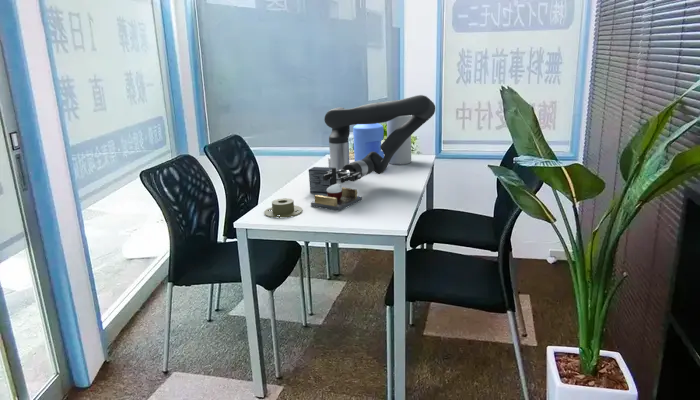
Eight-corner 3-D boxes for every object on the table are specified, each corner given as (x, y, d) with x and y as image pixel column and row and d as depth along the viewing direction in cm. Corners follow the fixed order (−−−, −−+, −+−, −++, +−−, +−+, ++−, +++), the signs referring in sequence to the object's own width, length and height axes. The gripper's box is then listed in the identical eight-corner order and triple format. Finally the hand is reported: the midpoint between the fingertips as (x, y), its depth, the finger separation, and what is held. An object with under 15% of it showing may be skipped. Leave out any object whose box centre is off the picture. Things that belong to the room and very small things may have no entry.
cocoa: (337, 203, 213) (336, 175, 209) (323, 202, 215) (322, 173, 211) (346, 196, 221) (346, 168, 217) (332, 194, 224) (331, 167, 220)
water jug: (348, 167, 278) (346, 113, 270) (365, 161, 290) (363, 109, 282) (374, 170, 269) (372, 114, 261) (390, 164, 282) (388, 110, 274)
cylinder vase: (384, 164, 282) (383, 116, 275) (391, 159, 293) (390, 113, 286) (407, 165, 277) (407, 117, 270) (414, 160, 288) (413, 113, 281)
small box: (337, 190, 238) (336, 166, 235) (332, 194, 232) (330, 170, 229) (315, 188, 241) (313, 166, 238) (309, 192, 235) (307, 169, 232)
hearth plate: (310, 206, 216) (310, 195, 214) (334, 196, 228) (333, 185, 227) (339, 210, 208) (338, 199, 207) (361, 200, 220) (361, 189, 219)
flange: (306, 196, 214) (271, 195, 217) (294, 207, 200) (257, 206, 203) (307, 207, 215) (272, 206, 219) (295, 219, 201) (258, 218, 205)
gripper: (341, 160, 229) (317, 168, 216) (369, 163, 221) (346, 171, 209) (342, 177, 231) (319, 186, 219) (369, 180, 223) (347, 190, 211)
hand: (332, 179), depth 214 cm, fingers open, 8 cm apart
